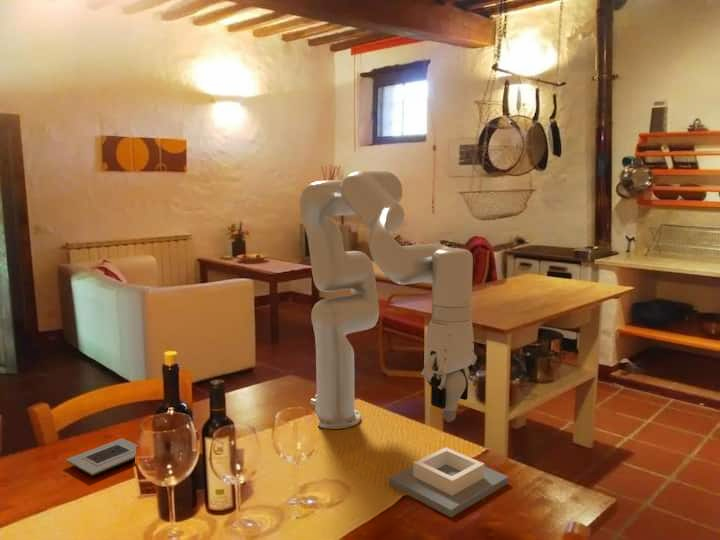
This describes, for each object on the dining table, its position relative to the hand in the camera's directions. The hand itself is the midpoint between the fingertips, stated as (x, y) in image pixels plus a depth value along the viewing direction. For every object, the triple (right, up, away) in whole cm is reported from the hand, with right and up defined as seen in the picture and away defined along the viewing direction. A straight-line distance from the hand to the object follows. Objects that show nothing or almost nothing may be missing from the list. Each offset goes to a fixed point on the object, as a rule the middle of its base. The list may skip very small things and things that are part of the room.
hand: (449, 401), depth 118 cm
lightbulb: (0, -4, +1) cm, 4 cm away
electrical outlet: (-72, -16, +13) cm, 75 cm away
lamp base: (0, -17, +3) cm, 17 cm away
